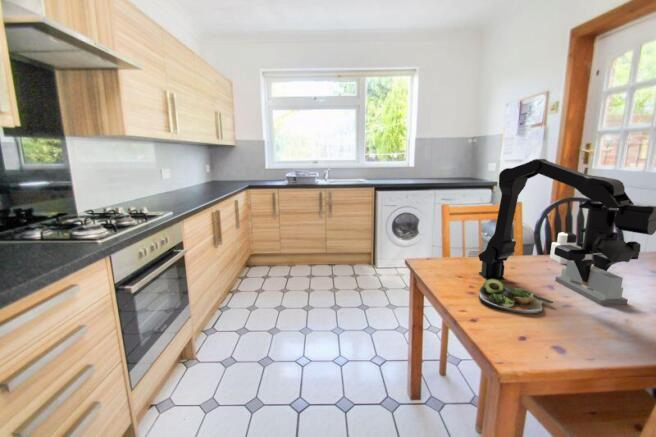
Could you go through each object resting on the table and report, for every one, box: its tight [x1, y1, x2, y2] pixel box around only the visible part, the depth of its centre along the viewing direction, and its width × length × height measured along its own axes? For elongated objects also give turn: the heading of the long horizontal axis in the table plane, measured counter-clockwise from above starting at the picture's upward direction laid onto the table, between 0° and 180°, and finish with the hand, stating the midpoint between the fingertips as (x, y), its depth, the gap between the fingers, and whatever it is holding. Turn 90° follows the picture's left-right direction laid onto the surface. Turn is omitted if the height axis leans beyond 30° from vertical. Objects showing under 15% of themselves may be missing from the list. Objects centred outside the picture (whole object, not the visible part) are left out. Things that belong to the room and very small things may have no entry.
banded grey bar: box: [565, 260, 624, 297], centre depth 85 cm, size 3×14×5 cm, turn 1°
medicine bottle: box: [549, 231, 581, 265], centre depth 127 cm, size 7×7×12 cm
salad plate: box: [478, 279, 554, 315], centre depth 95 cm, size 19×18×5 cm
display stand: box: [554, 267, 628, 306], centre depth 100 cm, size 8×18×5 cm, turn 1°
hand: (590, 281), depth 85 cm, fingers closed on banded grey bar, 3 cm apart
